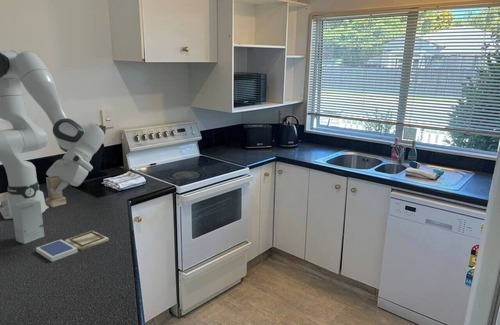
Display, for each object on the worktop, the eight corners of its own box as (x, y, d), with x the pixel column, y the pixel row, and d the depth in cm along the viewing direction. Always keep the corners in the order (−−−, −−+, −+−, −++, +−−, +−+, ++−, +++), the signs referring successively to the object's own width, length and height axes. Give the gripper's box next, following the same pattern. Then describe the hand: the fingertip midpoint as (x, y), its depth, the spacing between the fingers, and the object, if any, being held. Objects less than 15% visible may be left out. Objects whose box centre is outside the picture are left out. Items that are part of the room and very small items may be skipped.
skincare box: (24, 244, 139) (18, 207, 136) (15, 241, 142) (9, 204, 139) (45, 236, 146) (41, 200, 143) (36, 233, 149) (31, 198, 146)
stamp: (46, 205, 140) (42, 177, 137) (60, 202, 144) (56, 174, 141) (53, 208, 137) (49, 179, 135) (66, 204, 141) (63, 176, 138)
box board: (65, 241, 142) (65, 238, 142) (92, 232, 150) (92, 229, 150) (81, 250, 135) (81, 247, 134) (109, 240, 143) (108, 237, 143)
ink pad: (36, 251, 134) (35, 247, 133) (61, 242, 141) (60, 238, 140) (52, 261, 127) (51, 257, 126) (77, 252, 134) (77, 247, 133)
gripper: (55, 152, 148) (33, 181, 142) (83, 159, 136) (59, 191, 130) (68, 161, 152) (46, 190, 147) (95, 168, 140) (73, 200, 135)
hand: (53, 190), depth 139 cm, fingers closed on stamp, 3 cm apart
